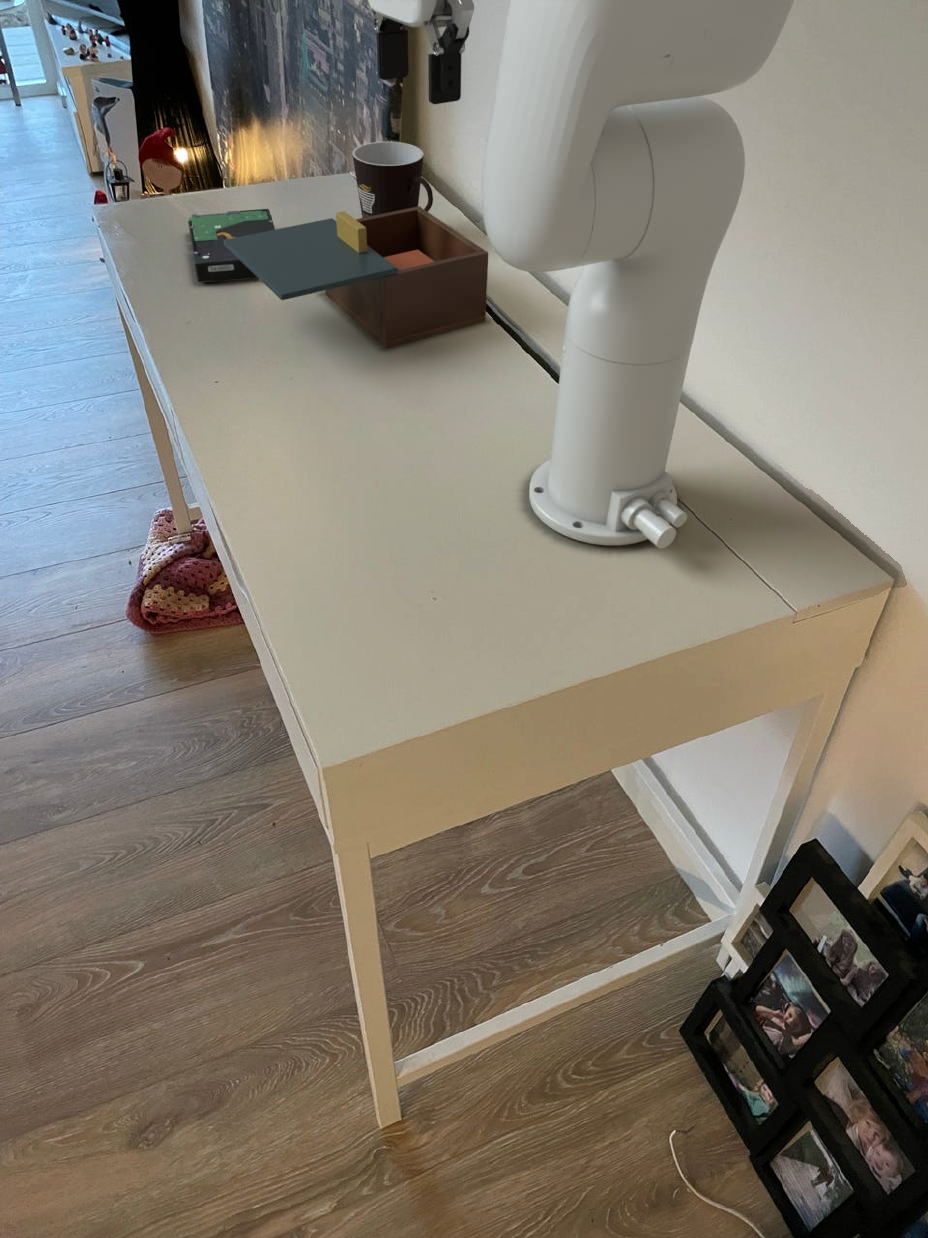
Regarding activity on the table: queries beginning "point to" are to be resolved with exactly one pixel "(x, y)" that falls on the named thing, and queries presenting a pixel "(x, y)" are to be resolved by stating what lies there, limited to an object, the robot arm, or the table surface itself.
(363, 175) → the coffee mug
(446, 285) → the walnut box
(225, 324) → the table surface
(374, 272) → the teal box lid
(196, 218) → the disk drive
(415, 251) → the terracotta block
